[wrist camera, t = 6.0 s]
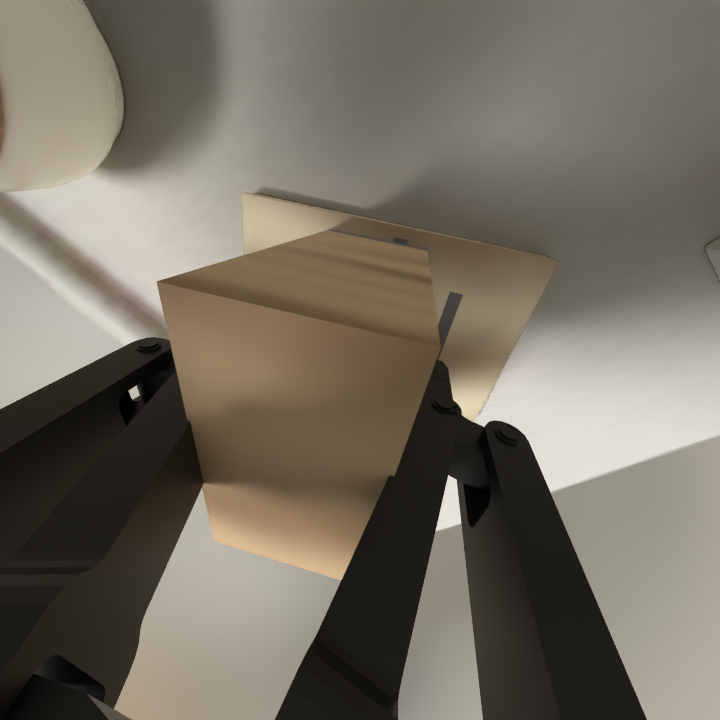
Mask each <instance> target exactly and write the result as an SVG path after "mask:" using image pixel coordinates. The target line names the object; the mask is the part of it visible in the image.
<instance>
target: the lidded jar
mask: <svg viewBox="0 0 720 720" xmlns="http://www.w3.org/2000/svg"><path fill="white" fill-rule="evenodd" d="M123 120H124V95H123V88H122V83H121V79H120V75H119V72H118V69H117V66H116V63H115V60H114V58H113V55H112V53H111V51H110V49H109V47H108V45H107V43H106V41H105V39H104V37H103V36H102V34H101V32H100V31H99V29H98V28H97V26H96V24H95V22H94V20H93V18H92V16H91V14H90V12H89V10H88V8H87V6H86V5H85V3H84V1H83V0H0V192H16V191H26V190H35V189H44V188H51V187H55V186H60V185H64V184H68V183H70V182H73V181H75V180H77V179H79V178H82V177H84V176H86V175H88V174H89V173H90V172H92V171H93V170H94V169H95V168H97V167H98V166H99V165H100V164H101V163H102V162H103V160H104V159H105V158H106V156H107V155H108V154H109V151H110V149H111V147H112V144H113V142H114V141H115V140H116V139H117V137H118V136H119V133H120V131H121V129H122V124H123Z"/></svg>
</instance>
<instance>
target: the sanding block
mask: <svg viewBox="0 0 720 720" xmlns="http://www.w3.org/2000/svg"><path fill="white" fill-rule="evenodd" d="M157 286H158V290H159V295H160V299H161V304H162V308H163V313H164V317H165V322H166V326H167V331H168V335H169V340H170V344H171V349H172V353H173V358H174V362H175V367H176V371H177V376H178V380H179V385H180V389H181V394H182V398H183V403H184V408H185V412H186V417H187V420H188V421H190V422H191V427H192V432H193V436H194V441H195V445H196V450H197V455H198V459H199V464H200V469H201V473H202V478H203V482H204V484H203V486H202V489H203V493H204V498H205V502H206V507H207V511H208V515H209V520H210V524H211V529H212V534H213V539H214V541H216V542H219V543H222V544H225V545H229V546H232V547H235V548H238V549H242V550H245V551H248V552H251V553H255V554H258V555H261V556H264V557H268V558H271V559H274V560H277V561H281V562H284V563H287V564H290V565H294V566H297V567H300V568H303V569H307V570H310V571H313V572H316V573H320V574H323V575H326V576H329V577H333V578H336V579H339V580H342V578H343V576H344V574H345V571H346V569H347V567H348V565H349V563H350V560H351V558H352V556H353V554H354V552H355V549H356V547H357V545H358V543H359V541H360V538H361V536H362V534H363V532H364V530H365V527H366V525H367V523H368V521H369V519H370V516H371V514H372V512H373V510H374V508H375V505H376V503H377V501H378V499H379V497H380V494H381V492H382V490H383V488H384V486H385V483H386V481H387V479H388V477H389V475H391V476H395V473H396V470H397V468H398V465H399V462H400V459H401V457H402V454H403V451H404V448H405V445H406V443H407V440H408V437H409V434H410V432H411V429H412V426H413V423H414V421H415V418H416V415H417V412H418V409H419V407H420V404H421V401H422V398H423V396H424V393H425V390H426V387H427V384H428V382H429V379H430V376H431V373H432V371H433V368H434V365H435V362H436V360H437V357H438V354H439V351H440V348H441V345H440V338H439V331H438V323H437V316H436V309H435V302H434V294H433V287H432V280H431V273H430V265H429V258H428V251H427V248H422V247H417V246H412V245H408V244H403V243H398V242H393V241H388V240H383V239H378V238H373V237H368V236H364V235H359V234H354V233H349V232H344V231H339V230H334V229H329V230H325V231H322V232H319V233H315V234H312V235H309V236H306V237H302V238H299V239H296V240H292V241H289V242H286V243H282V244H279V245H276V246H273V247H269V248H266V249H263V250H259V251H256V252H253V253H249V254H246V255H243V256H239V257H236V258H233V259H230V260H226V261H223V262H220V263H216V264H213V265H210V266H206V267H203V268H200V269H197V270H193V271H190V272H187V273H183V274H180V275H177V276H173V277H170V278H167V279H164V280H160V281H157Z"/></svg>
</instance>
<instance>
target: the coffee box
mask: <svg viewBox="0 0 720 720" xmlns="http://www.w3.org/2000/svg"><path fill="white" fill-rule="evenodd" d="M705 250H706V252H707V254H708V256H709V259H710V261H711V263H712V265H713V267H714V270H715V272H716V274H717V276H718V278H719V281H720V238H719V239H717V240H715V241H713V242H711V243H710V244H708V245H707V246H706V249H705Z"/></svg>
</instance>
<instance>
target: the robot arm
mask: <svg viewBox="0 0 720 720" xmlns="http://www.w3.org/2000/svg"><path fill="white" fill-rule="evenodd" d="M136 385H137V388H138V391H139V394H140V396H138V397H137V398H135V399H133V400H132V399H131V397H130V394H129V392H128V390H130V389H131V388H133V387H134V386H136ZM448 475H450V476H451V477H453V478H455V479H457V486H458V495H459V504H460V513H461V523H462V532H463V540H464V550H465V558H466V568H467V577H468V586H469V596H470V605H471V613H472V622H473V632H474V641H475V650H476V659H477V668H478V678H479V687H480V696H481V705H482V714H483V720H647V719H646V717H645V714H644V712H643V710H642V707H641V705H640V703H639V700H638V698H637V696H636V693H635V691H634V688H633V686H632V684H631V681H630V679H629V677H628V675H627V672H626V670H625V667H624V665H623V663H622V660H621V658H620V656H619V653H618V651H617V649H616V646H615V644H614V642H613V639H612V637H611V634H610V632H609V630H608V627H607V625H606V623H605V620H604V618H603V616H602V613H601V611H600V608H599V606H598V604H597V601H596V599H595V597H594V594H593V592H592V590H591V587H590V585H589V583H588V580H587V578H586V575H585V573H584V571H583V568H582V566H581V564H580V561H579V559H578V557H577V554H576V552H575V550H574V547H573V545H572V543H571V540H570V538H569V536H568V533H567V531H566V529H565V526H564V524H563V521H562V519H561V517H560V514H559V512H558V510H557V507H556V505H555V503H554V500H553V498H552V495H551V493H550V491H549V488H548V486H547V484H546V481H545V479H544V477H543V474H542V472H541V470H540V467H539V465H538V462H537V460H536V458H535V455H534V453H533V451H532V448H531V446H530V444H529V441H528V440H527V438H526V437H525V435H524V434H523V433H521V432H520V431H519V430H518V429H517V428H515V427H513V426H512V425H510V424H507V423H505V422H502V421H490V422H488V423H487V424H486V426H485V427H483V426H481V425H478V424H476V423H474V422H472V421H470V420H468V419H467V418H465V417H464V416H463V415H462V410H461V408H460V406H459V405H458V404H457V403H456V402H455V401H454V400H453V396H452V390H451V383H450V377H449V371H448V368H447V366H446V365H445V364H444V362H443V361H439V360H436V362H435V365H434V368H433V371H432V373H431V376H430V379H429V382H428V384H427V387H426V390H425V393H424V396H423V398H422V401H421V404H420V407H419V409H418V412H417V415H416V418H415V421H414V423H413V426H412V429H411V432H410V434H409V437H408V440H407V443H406V445H405V448H404V451H403V454H402V457H401V459H400V462H399V465H398V468H397V470H396V473H395V476H391V475H389V477H388V479H387V481H386V483H385V486H384V488H383V490H382V492H381V494H380V497H379V499H378V501H377V503H376V505H375V508H374V510H373V512H372V514H371V516H370V519H369V521H368V523H367V525H366V527H365V530H364V532H363V534H362V536H361V538H360V541H359V543H358V545H357V547H356V549H355V552H354V554H353V556H352V558H351V560H350V563H349V565H348V567H347V569H346V571H345V574H344V576H343V578H342V580H341V583H340V585H339V587H338V589H337V591H336V594H335V596H334V598H333V600H332V602H331V604H330V607H329V609H328V611H327V613H326V616H325V618H324V620H323V622H322V625H321V626H320V629H319V631H318V633H317V635H316V637H315V639H314V640H313V643H312V644H311V645H310V647H309V649H308V651H307V653H306V655H305V657H304V659H303V661H302V663H301V665H300V667H299V669H298V671H297V673H296V675H295V678H294V680H293V682H292V684H291V686H290V688H289V690H288V693H287V695H286V697H285V699H284V701H283V703H282V705H281V708H280V710H279V712H278V714H277V717H276V719H275V720H398V696H399V690H400V685H401V679H402V675H403V671H404V667H405V662H406V658H407V653H408V649H409V645H410V640H411V636H412V631H413V627H414V623H415V618H416V614H417V609H418V605H419V601H420V596H421V592H422V587H423V583H424V578H425V574H426V570H427V565H428V561H429V557H430V552H431V548H432V543H433V539H434V535H435V530H436V526H437V521H438V517H439V513H440V508H441V504H442V499H443V495H444V491H445V486H446V482H447V477H448ZM203 484H204V482H203V478H202V473H201V469H200V464H199V459H198V455H197V450H196V445H195V441H194V436H193V432H192V427H191V422H190V421H188V420H187V417H186V412H185V408H184V403H183V398H182V394H181V389H180V385H179V380H178V376H177V371H176V367H175V362H174V358H173V353H172V349H171V344H170V341H169V340H166V339H163V338H156V337H152V338H145V339H141V340H137V341H135V342H132V343H130V344H128V345H126V346H124V347H122V348H120V349H118V350H116V351H114V352H112V353H110V354H108V355H106V356H105V357H102V358H101V359H98V360H97V361H95V362H93V363H91V364H89V365H87V366H85V367H83V368H81V369H79V370H77V371H75V372H73V373H71V374H69V375H67V376H65V377H63V378H61V379H59V380H57V381H56V382H53V383H51V384H49V385H47V386H45V387H43V388H41V389H39V390H37V391H36V392H33V393H32V394H30V395H28V396H26V397H24V398H22V399H20V400H18V401H16V402H14V403H12V404H10V405H8V406H6V407H4V408H2V409H0V720H131V719H129V718H128V717H126V716H124V715H123V714H121V713H119V712H118V711H116V710H114V707H115V705H116V702H117V700H118V698H119V695H120V693H121V690H122V688H123V686H124V683H125V681H126V679H127V677H128V674H129V672H130V669H131V667H132V664H133V661H134V659H135V655H136V651H137V648H138V644H139V635H140V628H141V624H142V620H143V617H144V615H145V612H146V610H147V607H148V605H149V603H150V601H151V599H152V597H153V594H154V592H155V590H156V588H157V585H158V583H159V581H160V579H161V577H162V574H163V572H164V570H165V568H166V565H167V563H168V561H169V559H170V557H171V554H172V552H173V550H174V548H175V546H176V543H177V541H178V539H179V537H180V535H181V532H182V530H183V528H184V526H185V524H186V521H187V519H188V517H189V514H190V513H191V510H192V508H193V506H194V504H195V501H196V499H197V497H198V495H199V493H200V490H201V488H202V486H203Z"/></svg>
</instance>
